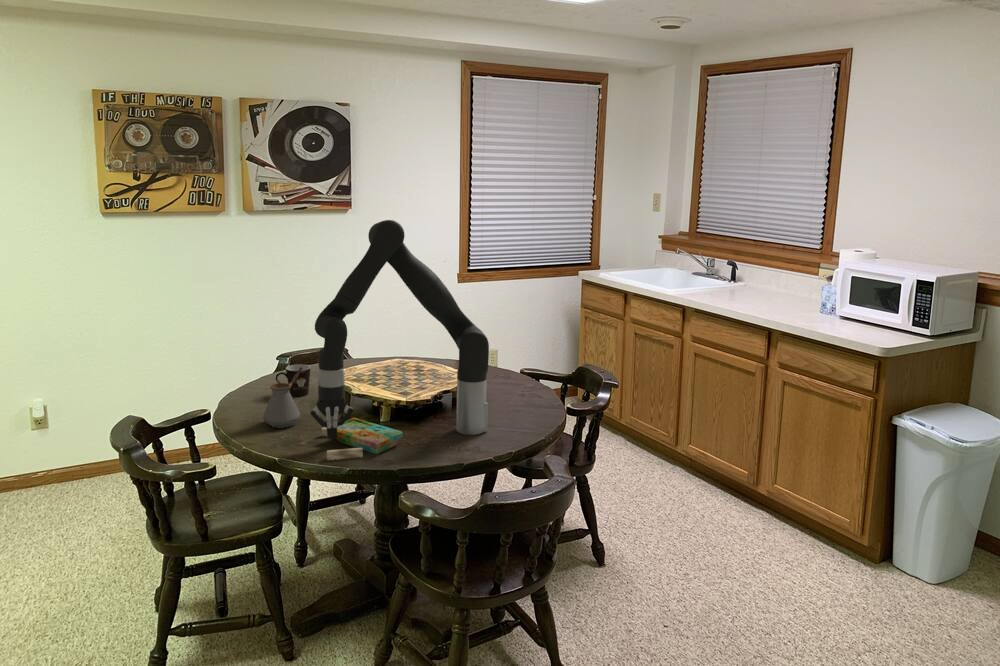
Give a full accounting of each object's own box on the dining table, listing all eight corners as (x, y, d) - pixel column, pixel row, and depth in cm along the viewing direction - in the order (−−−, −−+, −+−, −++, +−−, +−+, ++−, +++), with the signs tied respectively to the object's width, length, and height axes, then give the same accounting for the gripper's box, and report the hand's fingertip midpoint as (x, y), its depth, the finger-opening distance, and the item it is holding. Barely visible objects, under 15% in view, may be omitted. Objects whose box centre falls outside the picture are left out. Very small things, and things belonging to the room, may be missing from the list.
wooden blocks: (354, 433, 241) (354, 425, 240) (362, 457, 222) (362, 448, 221) (321, 435, 238) (321, 427, 237) (327, 460, 219) (327, 452, 218)
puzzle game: (376, 441, 221) (326, 425, 232) (376, 456, 222) (326, 440, 233) (402, 429, 231) (353, 414, 241) (402, 444, 232) (353, 428, 242)
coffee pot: (290, 431, 240) (288, 385, 237) (256, 428, 243) (254, 382, 239) (319, 410, 261) (318, 368, 257) (288, 407, 263) (287, 365, 260)
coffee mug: (313, 391, 282) (312, 364, 280) (308, 398, 274) (307, 371, 272) (281, 390, 282) (280, 364, 279) (275, 397, 273) (274, 370, 271)
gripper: (352, 378, 230) (353, 433, 234) (307, 380, 226) (308, 436, 230) (355, 385, 223) (356, 441, 227) (308, 387, 219) (309, 445, 223)
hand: (331, 438), depth 228 cm, fingers closed
